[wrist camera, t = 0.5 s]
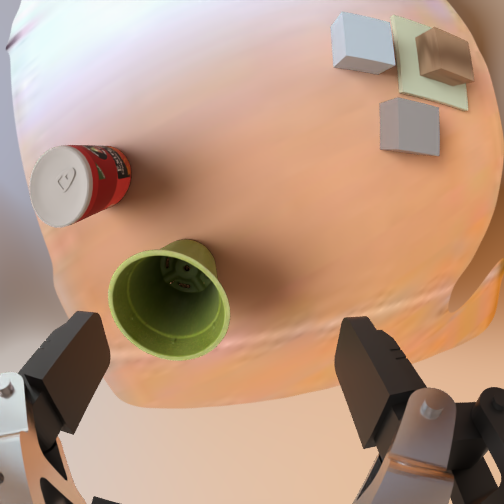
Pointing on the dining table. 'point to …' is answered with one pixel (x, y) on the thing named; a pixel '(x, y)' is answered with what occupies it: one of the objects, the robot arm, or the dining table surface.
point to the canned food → (77, 182)
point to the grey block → (409, 127)
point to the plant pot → (170, 301)
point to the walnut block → (444, 57)
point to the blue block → (362, 44)
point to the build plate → (409, 68)
